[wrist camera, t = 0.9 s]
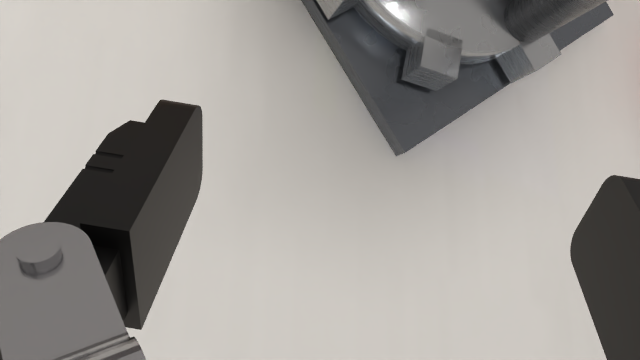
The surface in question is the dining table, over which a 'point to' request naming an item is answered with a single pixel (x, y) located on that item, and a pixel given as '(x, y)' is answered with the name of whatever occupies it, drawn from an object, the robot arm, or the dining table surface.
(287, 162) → the dining table surface
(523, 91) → the dining table surface
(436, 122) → the sprocket base
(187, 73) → the dining table surface
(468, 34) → the sprocket
